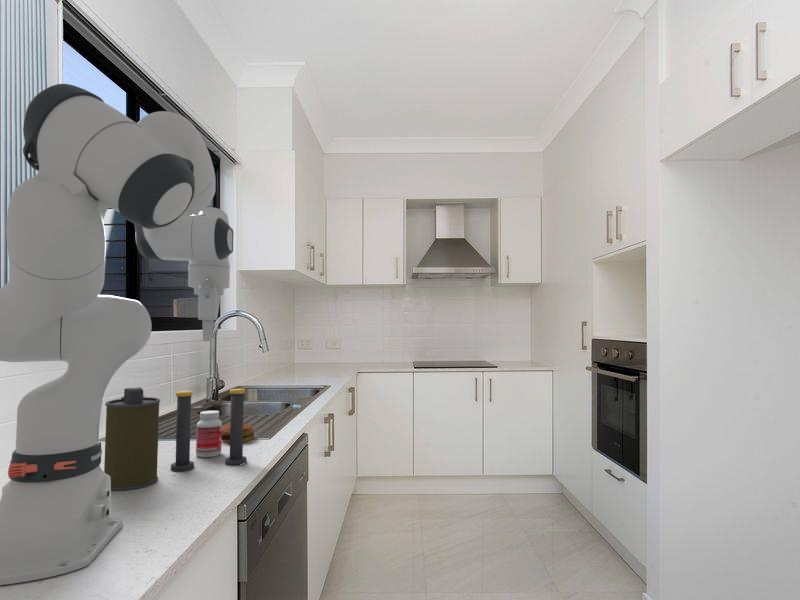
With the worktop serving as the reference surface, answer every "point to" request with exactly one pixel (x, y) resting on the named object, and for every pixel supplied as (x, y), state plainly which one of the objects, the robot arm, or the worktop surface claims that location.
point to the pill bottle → (209, 435)
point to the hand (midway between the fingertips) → (207, 340)
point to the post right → (236, 428)
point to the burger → (247, 433)
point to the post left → (183, 432)
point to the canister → (132, 440)
